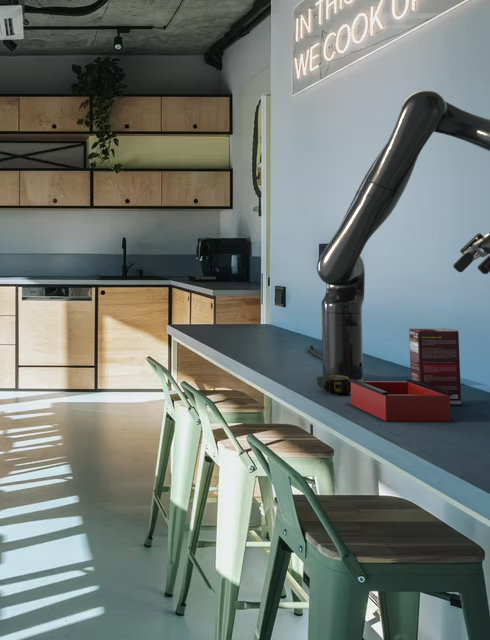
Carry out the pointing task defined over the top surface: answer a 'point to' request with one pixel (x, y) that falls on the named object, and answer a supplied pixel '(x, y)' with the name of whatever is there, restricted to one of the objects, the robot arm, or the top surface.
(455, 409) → the top surface
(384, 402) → the open red box
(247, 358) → the top surface
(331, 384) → the tape measure
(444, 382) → the supplement box
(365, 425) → the top surface
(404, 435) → the top surface
